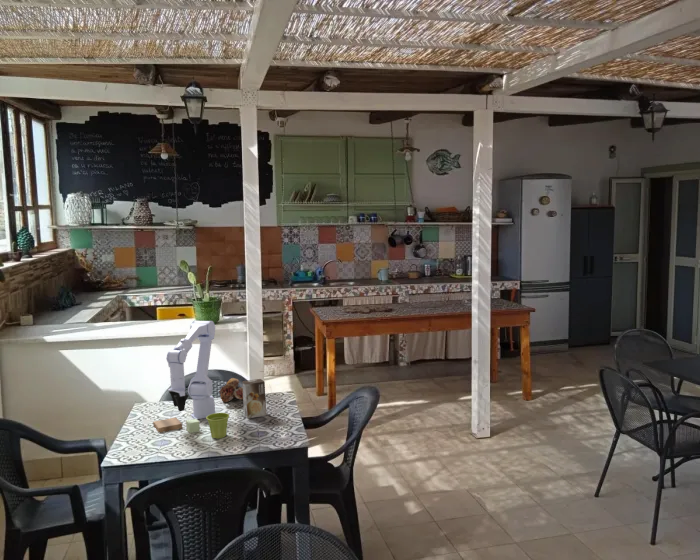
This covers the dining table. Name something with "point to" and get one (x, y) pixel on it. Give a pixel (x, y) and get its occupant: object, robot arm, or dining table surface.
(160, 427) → the tan block
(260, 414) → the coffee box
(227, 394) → the seed pod
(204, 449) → the dining table surface
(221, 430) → the plant pot
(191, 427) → the sage cube
